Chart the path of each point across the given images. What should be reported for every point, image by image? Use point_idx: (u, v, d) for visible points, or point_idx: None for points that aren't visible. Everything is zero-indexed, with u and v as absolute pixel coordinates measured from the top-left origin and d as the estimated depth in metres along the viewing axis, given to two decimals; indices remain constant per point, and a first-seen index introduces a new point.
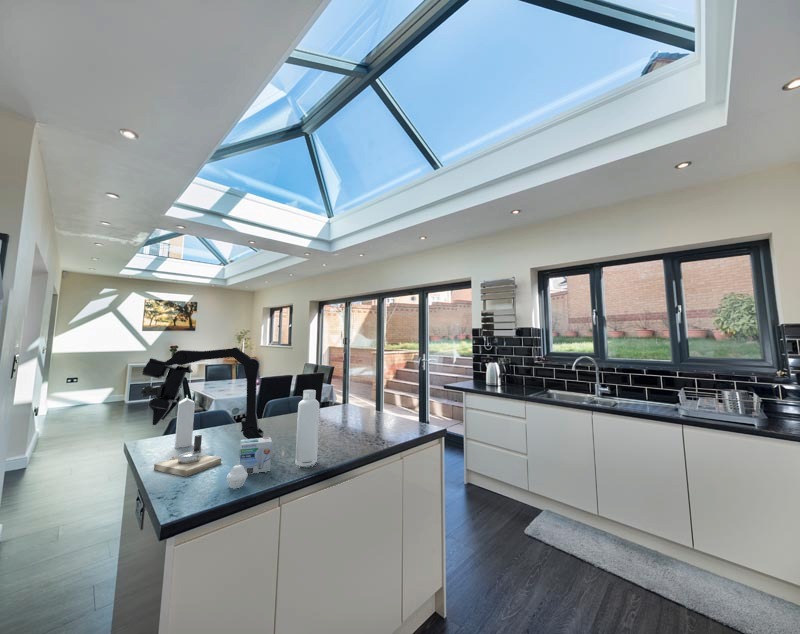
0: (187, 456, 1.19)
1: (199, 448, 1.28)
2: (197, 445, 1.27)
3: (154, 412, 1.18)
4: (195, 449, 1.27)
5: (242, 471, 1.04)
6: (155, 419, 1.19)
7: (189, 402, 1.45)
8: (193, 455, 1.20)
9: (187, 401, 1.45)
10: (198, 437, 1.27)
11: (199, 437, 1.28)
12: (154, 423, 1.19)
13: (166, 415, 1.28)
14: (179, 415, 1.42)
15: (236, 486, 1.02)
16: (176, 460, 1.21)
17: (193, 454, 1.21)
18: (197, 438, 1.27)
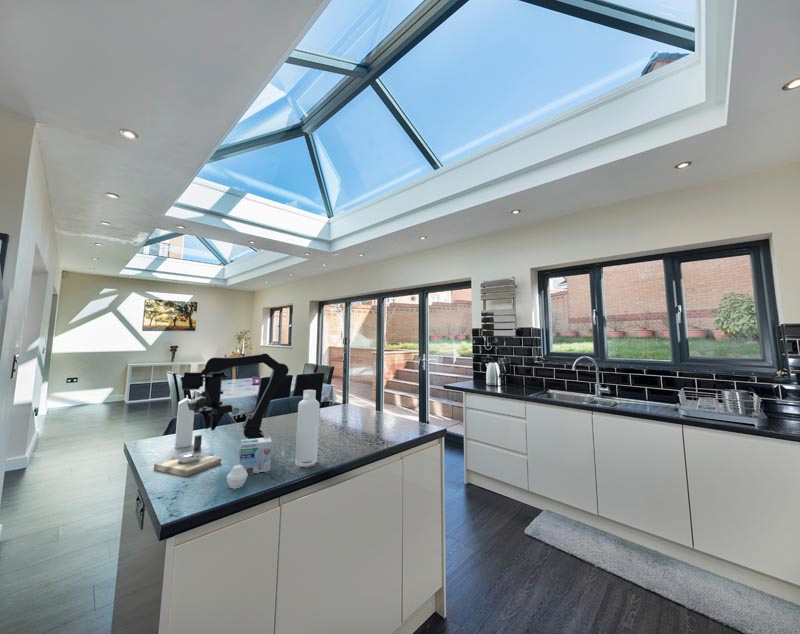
0: (187, 456, 1.19)
1: (199, 448, 1.28)
2: (197, 445, 1.27)
3: (213, 418, 1.26)
4: (195, 449, 1.27)
5: (242, 471, 1.04)
6: (213, 424, 1.26)
7: None
8: (193, 455, 1.20)
9: (187, 401, 1.45)
10: (198, 437, 1.27)
11: (199, 437, 1.28)
12: (213, 428, 1.27)
13: (209, 423, 1.30)
14: (179, 415, 1.42)
15: (236, 486, 1.02)
16: (176, 460, 1.21)
17: (193, 454, 1.21)
18: (197, 438, 1.27)
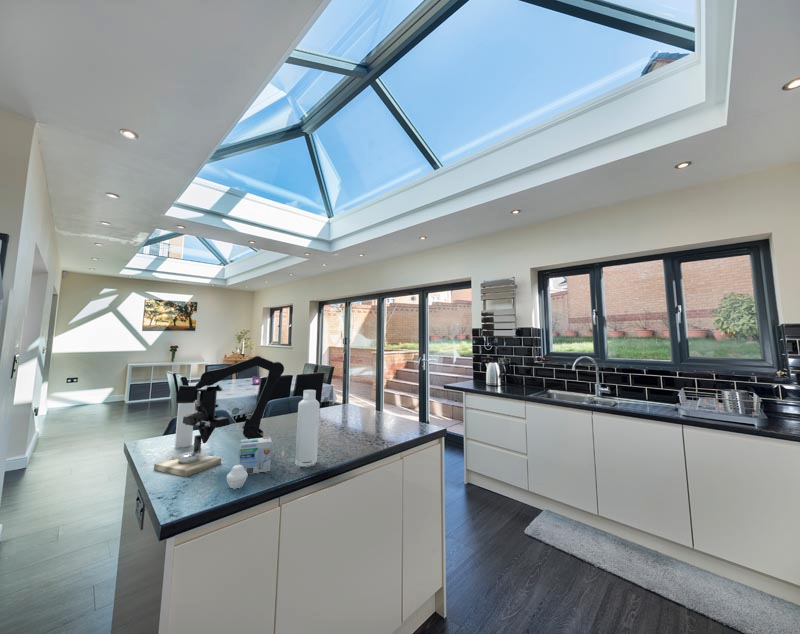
0: (187, 456, 1.19)
1: (199, 448, 1.28)
2: (197, 445, 1.27)
3: (206, 431, 1.27)
4: (195, 449, 1.27)
5: (242, 471, 1.04)
6: (206, 437, 1.28)
7: None
8: (193, 455, 1.20)
9: None
10: (198, 437, 1.27)
11: (199, 437, 1.28)
12: (205, 441, 1.28)
13: None
14: (179, 415, 1.42)
15: (236, 486, 1.02)
16: (176, 460, 1.21)
17: (193, 454, 1.21)
18: (197, 438, 1.27)
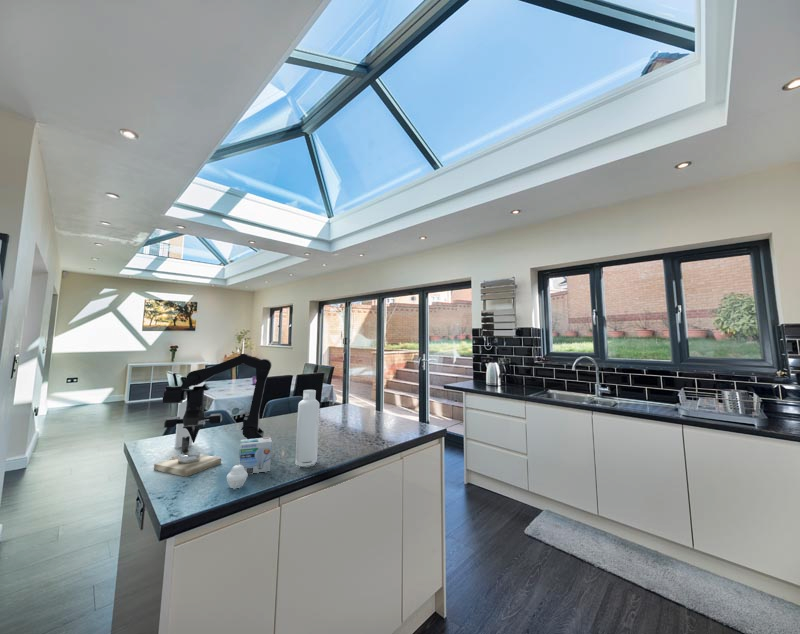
0: (191, 456, 1.20)
1: (188, 449, 1.26)
2: (187, 446, 1.26)
3: None
4: (185, 450, 1.25)
5: (242, 471, 1.04)
6: (195, 436, 1.28)
7: None
8: (195, 454, 1.21)
9: None
10: (188, 438, 1.26)
11: (188, 438, 1.26)
12: (194, 440, 1.28)
13: None
14: (179, 415, 1.42)
15: (236, 486, 1.02)
16: (176, 460, 1.21)
17: (193, 453, 1.22)
18: (187, 439, 1.26)
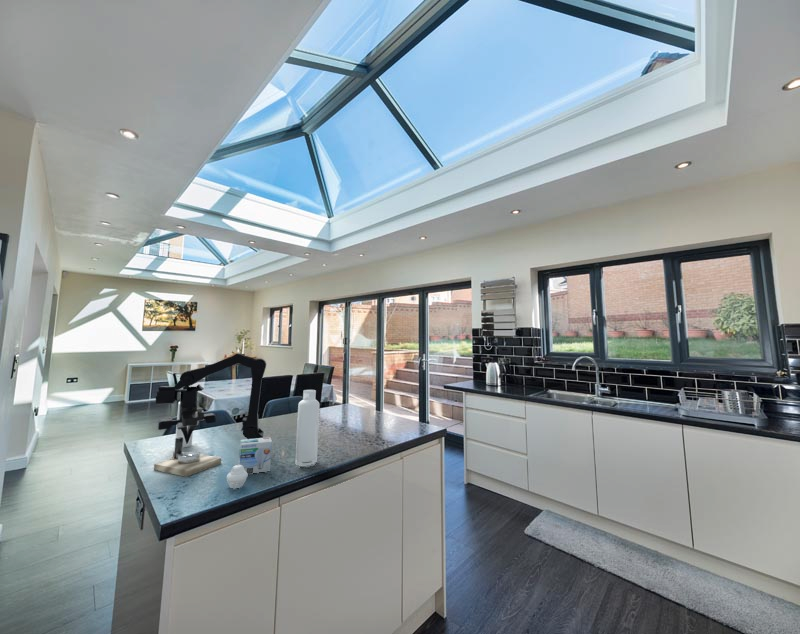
0: (192, 455, 1.20)
1: None
2: (181, 447, 1.24)
3: None
4: (179, 451, 1.23)
5: (242, 471, 1.04)
6: None
7: None
8: (195, 453, 1.22)
9: None
10: (182, 439, 1.24)
11: (182, 439, 1.25)
12: (187, 441, 1.27)
13: None
14: None
15: (236, 486, 1.02)
16: (176, 460, 1.21)
17: (192, 453, 1.22)
18: (181, 440, 1.24)
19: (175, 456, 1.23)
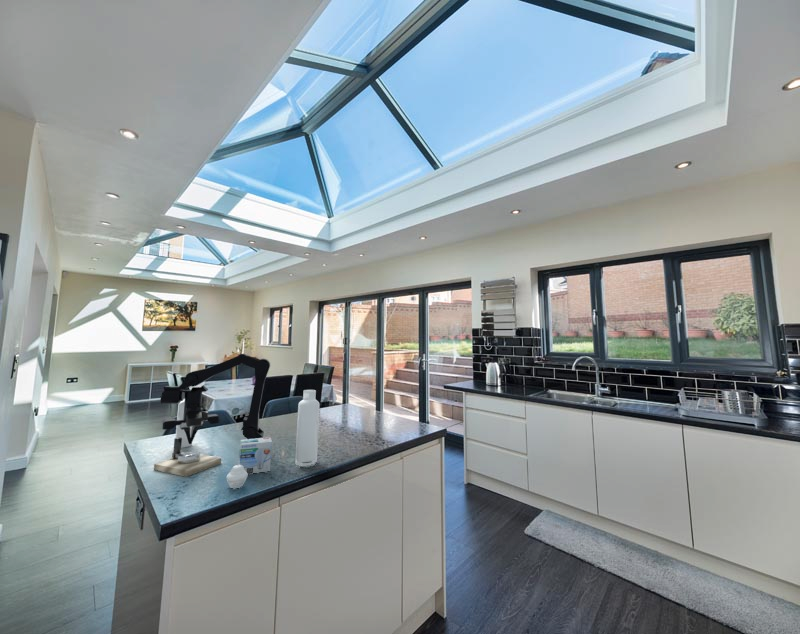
0: (193, 455, 1.20)
1: (180, 450, 1.24)
2: (180, 447, 1.24)
3: None
4: (178, 452, 1.23)
5: (242, 471, 1.04)
6: None
7: None
8: (195, 453, 1.22)
9: None
10: (181, 439, 1.24)
11: (181, 439, 1.24)
12: None
13: None
14: (179, 415, 1.42)
15: (236, 486, 1.02)
16: (176, 460, 1.21)
17: (192, 453, 1.22)
18: (180, 440, 1.24)
19: (174, 456, 1.22)
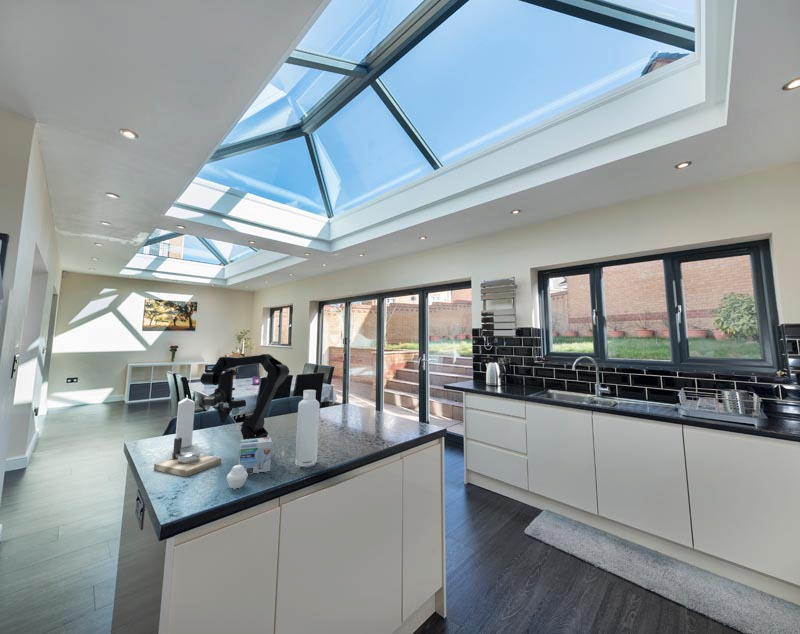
0: (193, 455, 1.20)
1: (180, 450, 1.24)
2: (180, 447, 1.24)
3: (224, 412, 1.37)
4: (178, 452, 1.23)
5: (242, 471, 1.04)
6: (224, 417, 1.38)
7: (189, 402, 1.45)
8: (195, 453, 1.22)
9: (187, 401, 1.45)
10: (181, 439, 1.24)
11: (181, 439, 1.24)
12: (223, 421, 1.38)
13: None
14: (179, 415, 1.42)
15: (236, 486, 1.02)
16: (176, 460, 1.21)
17: (192, 453, 1.22)
18: (180, 440, 1.24)
19: (174, 456, 1.22)
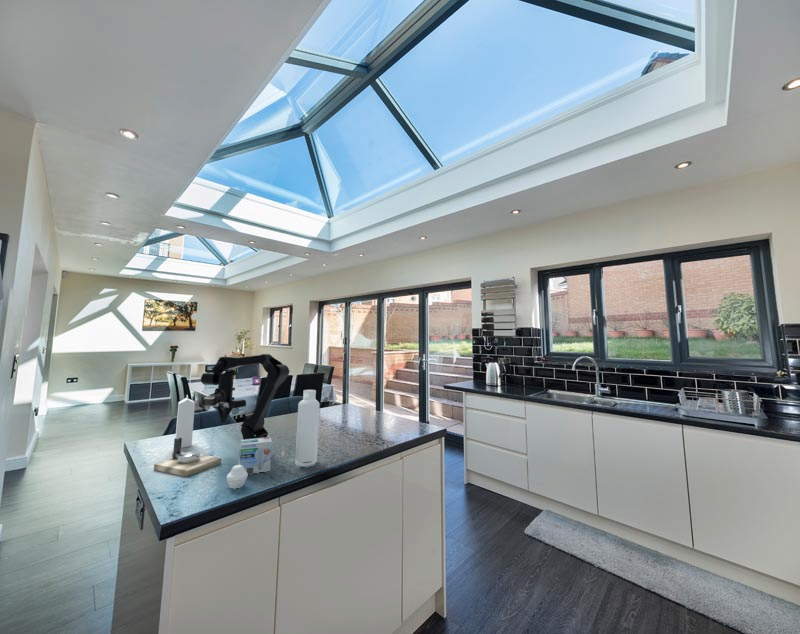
0: (193, 455, 1.20)
1: (180, 450, 1.24)
2: (180, 447, 1.24)
3: (224, 412, 1.38)
4: (178, 452, 1.23)
5: (242, 471, 1.04)
6: (224, 417, 1.38)
7: (189, 402, 1.45)
8: (195, 453, 1.22)
9: (187, 401, 1.45)
10: (181, 439, 1.24)
11: (181, 439, 1.24)
12: (223, 421, 1.39)
13: None
14: (179, 415, 1.42)
15: (236, 486, 1.02)
16: (176, 460, 1.21)
17: (192, 453, 1.22)
18: (180, 440, 1.24)
19: (174, 456, 1.22)
